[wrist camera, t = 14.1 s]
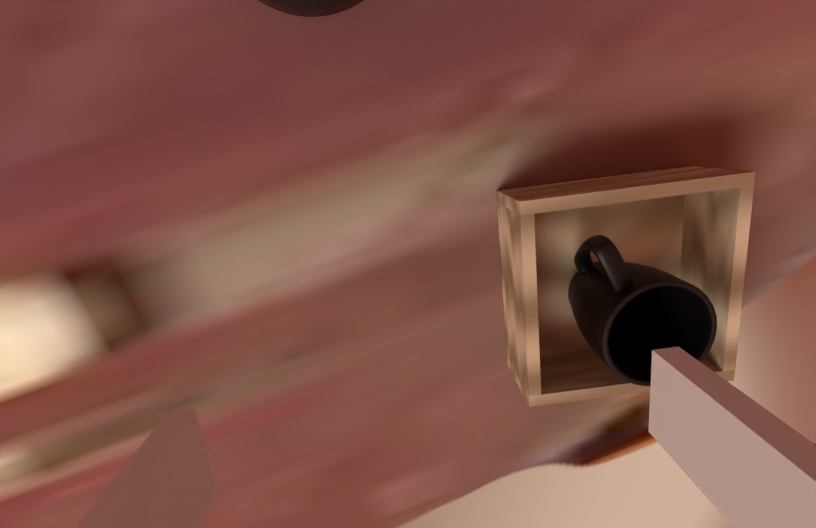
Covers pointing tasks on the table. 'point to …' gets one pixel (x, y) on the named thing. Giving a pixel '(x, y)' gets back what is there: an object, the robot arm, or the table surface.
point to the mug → (636, 311)
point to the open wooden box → (637, 243)
